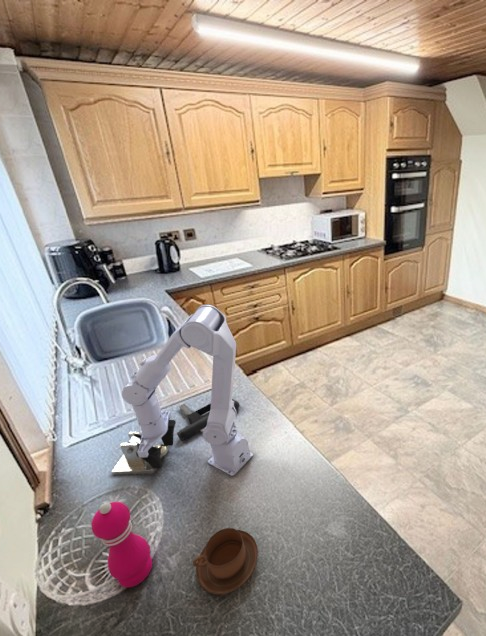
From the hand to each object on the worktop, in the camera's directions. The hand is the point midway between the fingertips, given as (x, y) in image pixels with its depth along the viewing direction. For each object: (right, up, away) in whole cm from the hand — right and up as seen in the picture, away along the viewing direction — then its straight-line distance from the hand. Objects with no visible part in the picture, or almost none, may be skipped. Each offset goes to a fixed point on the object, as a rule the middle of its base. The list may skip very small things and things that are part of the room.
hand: (163, 455), depth 95 cm
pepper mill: (+6, -14, -24) cm, 29 cm away
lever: (-4, +2, -1) cm, 4 cm away
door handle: (+5, +6, +17) cm, 18 cm away
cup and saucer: (+25, -13, -24) cm, 37 cm away
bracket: (-6, -2, +1) cm, 7 cm away
